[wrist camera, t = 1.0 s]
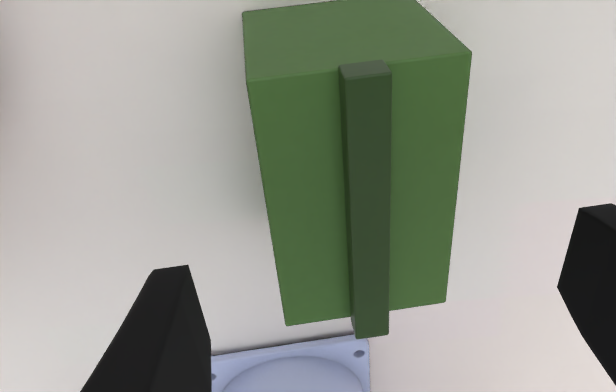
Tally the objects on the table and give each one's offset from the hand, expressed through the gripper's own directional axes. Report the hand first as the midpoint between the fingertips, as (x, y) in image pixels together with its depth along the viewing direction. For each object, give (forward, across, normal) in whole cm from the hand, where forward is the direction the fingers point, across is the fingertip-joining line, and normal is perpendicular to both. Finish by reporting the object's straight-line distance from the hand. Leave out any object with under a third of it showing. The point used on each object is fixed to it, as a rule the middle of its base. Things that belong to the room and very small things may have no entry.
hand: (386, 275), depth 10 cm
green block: (+9, 0, +1) cm, 9 cm away
